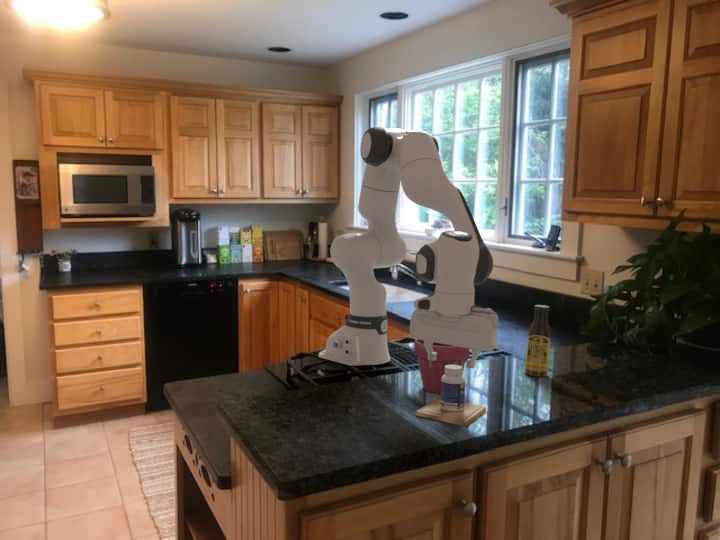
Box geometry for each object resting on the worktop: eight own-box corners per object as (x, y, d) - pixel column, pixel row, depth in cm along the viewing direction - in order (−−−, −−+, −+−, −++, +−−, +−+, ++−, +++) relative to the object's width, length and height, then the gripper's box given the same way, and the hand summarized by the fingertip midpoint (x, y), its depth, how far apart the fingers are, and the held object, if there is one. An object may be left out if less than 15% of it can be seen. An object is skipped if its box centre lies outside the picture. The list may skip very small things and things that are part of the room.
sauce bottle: (523, 376, 169) (526, 306, 167) (526, 370, 175) (529, 303, 173) (547, 379, 167) (551, 308, 165) (549, 373, 173) (553, 305, 170)
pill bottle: (463, 413, 134) (465, 370, 133) (439, 411, 135) (441, 369, 134) (464, 405, 139) (466, 364, 138) (441, 403, 140) (442, 362, 139)
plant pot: (436, 377, 166) (437, 332, 165) (479, 389, 156) (481, 340, 155) (402, 387, 156) (403, 339, 155) (445, 400, 146) (447, 349, 145)
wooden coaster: (416, 415, 136) (416, 410, 135) (438, 401, 146) (438, 396, 146) (466, 426, 129) (466, 421, 129) (485, 411, 139) (486, 406, 139)
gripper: (503, 307, 132) (499, 368, 134) (420, 296, 143) (417, 353, 145) (493, 311, 127) (489, 375, 128) (407, 300, 138) (405, 359, 139)
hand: (450, 363), depth 137 cm, fingers open, 8 cm apart
